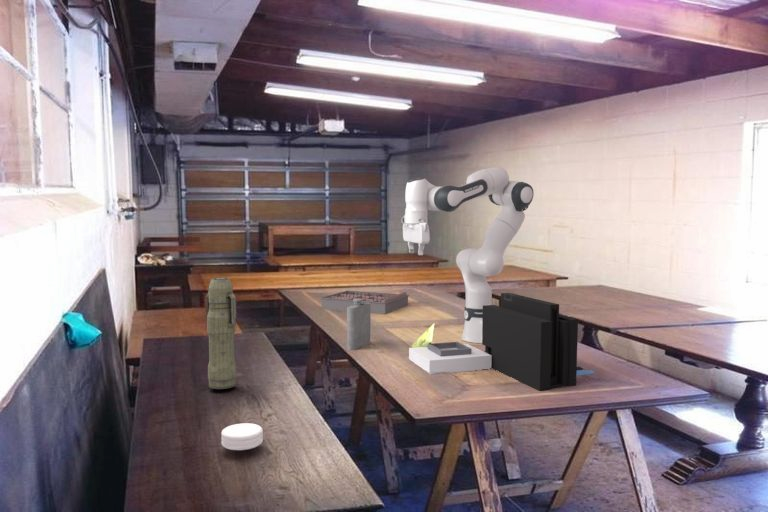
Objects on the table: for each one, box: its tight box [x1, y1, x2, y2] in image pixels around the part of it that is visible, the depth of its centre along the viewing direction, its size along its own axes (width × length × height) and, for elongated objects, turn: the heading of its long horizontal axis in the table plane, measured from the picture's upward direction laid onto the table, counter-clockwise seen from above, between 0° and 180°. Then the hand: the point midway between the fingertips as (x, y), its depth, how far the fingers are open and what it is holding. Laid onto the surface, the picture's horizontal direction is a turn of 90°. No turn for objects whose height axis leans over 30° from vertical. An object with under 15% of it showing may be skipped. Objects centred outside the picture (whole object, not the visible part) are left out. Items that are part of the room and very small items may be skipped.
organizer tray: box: [320, 290, 410, 315], centre depth 349 cm, size 32×40×10 cm
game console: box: [481, 292, 596, 391], centre depth 221 cm, size 35×30×27 cm
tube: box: [411, 322, 436, 348], centre depth 241 cm, size 6×5×20 cm
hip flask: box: [346, 299, 371, 351], centre depth 259 cm, size 16×4×20 cm, turn 152°
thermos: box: [205, 276, 237, 390], centre depth 204 cm, size 9×12×35 cm
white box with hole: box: [408, 341, 492, 376], centre depth 231 cm, size 24×20×7 cm
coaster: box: [220, 422, 264, 451], centre depth 156 cm, size 10×10×4 cm
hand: (416, 254), depth 250 cm, fingers open, 8 cm apart
